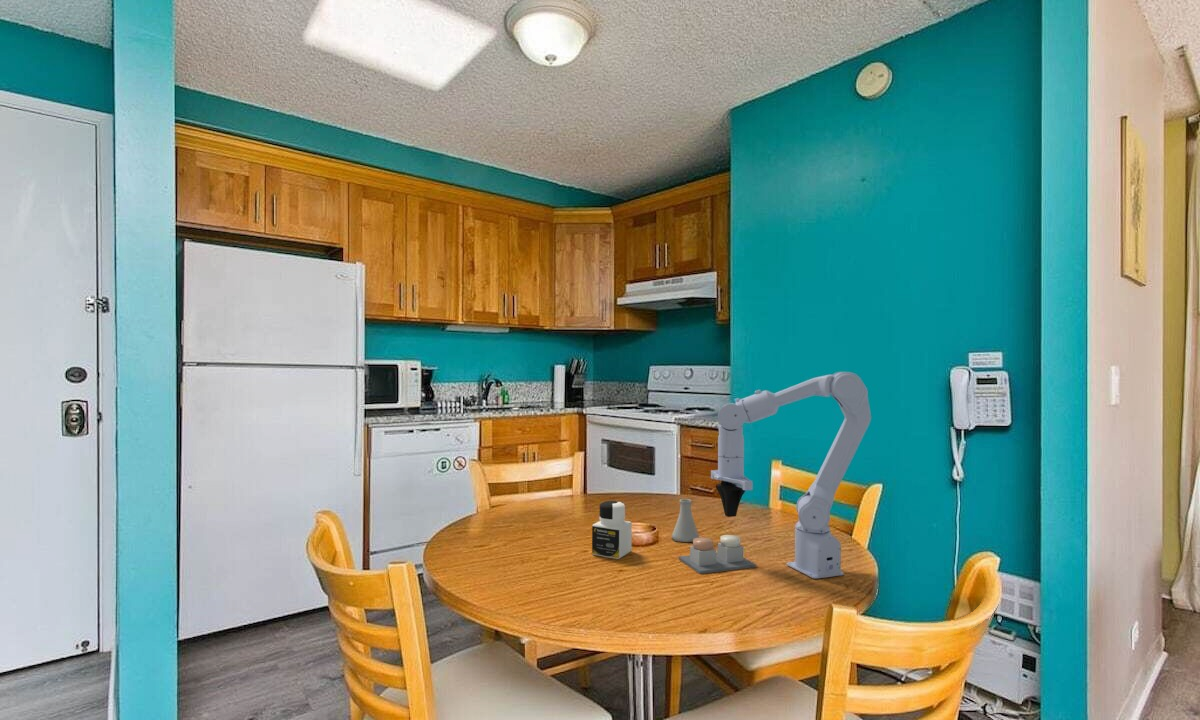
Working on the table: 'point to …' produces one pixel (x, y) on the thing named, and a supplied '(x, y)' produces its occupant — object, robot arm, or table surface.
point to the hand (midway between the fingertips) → (730, 516)
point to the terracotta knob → (703, 543)
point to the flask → (685, 523)
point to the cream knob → (730, 541)
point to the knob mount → (716, 559)
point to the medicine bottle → (611, 531)
